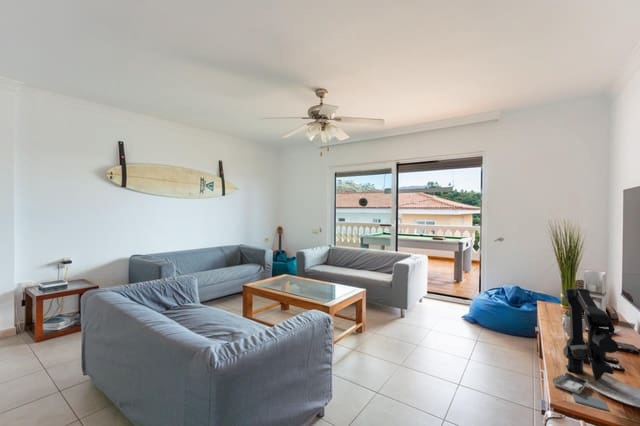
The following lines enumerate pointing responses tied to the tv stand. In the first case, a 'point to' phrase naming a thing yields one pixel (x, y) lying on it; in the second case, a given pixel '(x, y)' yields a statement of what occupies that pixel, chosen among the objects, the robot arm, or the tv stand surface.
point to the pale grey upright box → (596, 287)
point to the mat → (590, 401)
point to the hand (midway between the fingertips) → (596, 379)
